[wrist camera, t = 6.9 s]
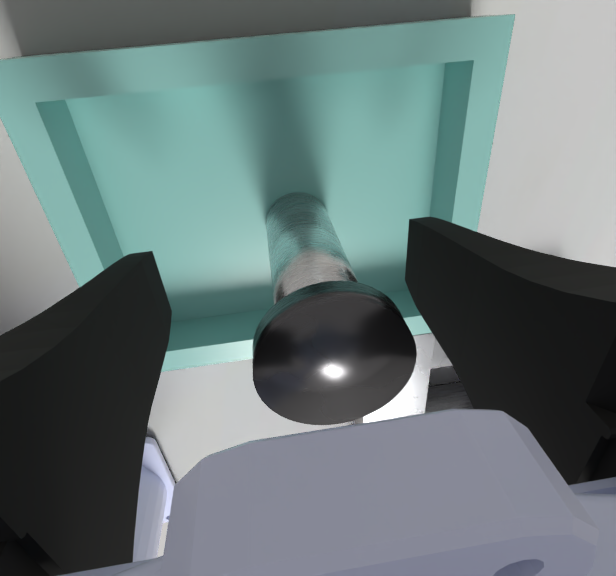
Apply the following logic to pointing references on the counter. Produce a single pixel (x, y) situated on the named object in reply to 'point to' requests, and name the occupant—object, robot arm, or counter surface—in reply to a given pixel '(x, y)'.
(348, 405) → the pin
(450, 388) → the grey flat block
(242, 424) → the counter surface
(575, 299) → the robot arm
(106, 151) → the tray
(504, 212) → the counter surface
